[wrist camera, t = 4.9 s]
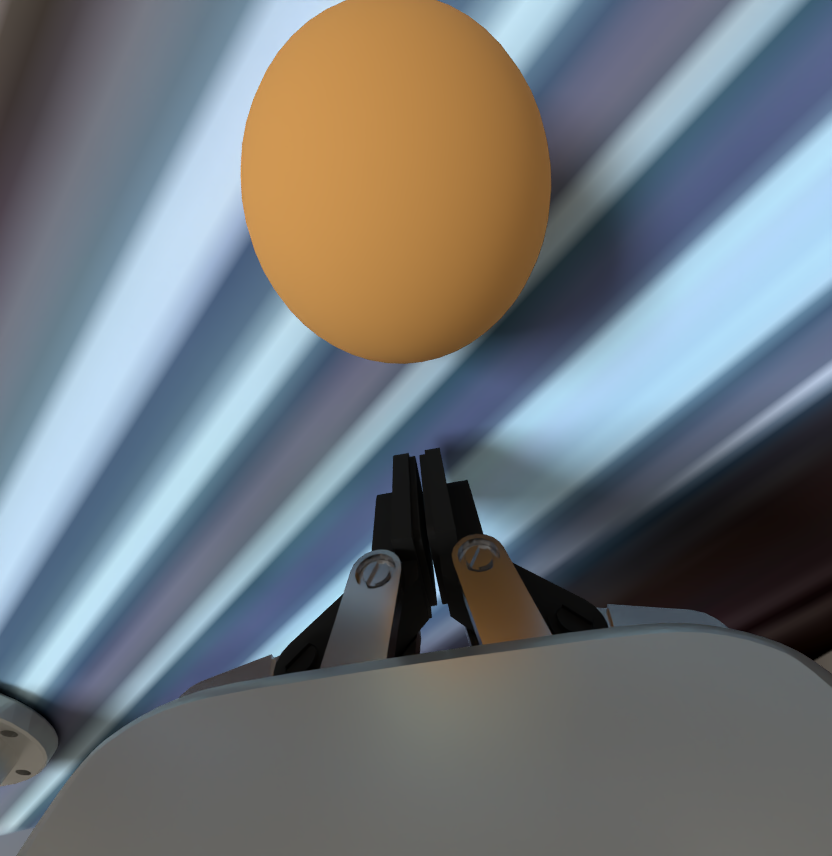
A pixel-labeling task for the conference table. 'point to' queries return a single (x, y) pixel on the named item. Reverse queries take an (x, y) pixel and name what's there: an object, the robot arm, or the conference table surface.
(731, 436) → the conference table surface
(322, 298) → the ball
